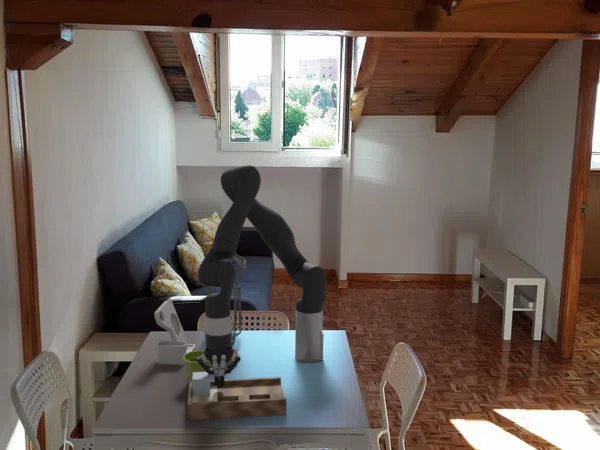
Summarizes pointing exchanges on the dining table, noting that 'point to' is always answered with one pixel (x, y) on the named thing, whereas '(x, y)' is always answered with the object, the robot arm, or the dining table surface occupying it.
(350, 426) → the dining table surface
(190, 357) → the plant pot
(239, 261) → the geometric lantern
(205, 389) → the block
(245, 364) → the dining table surface
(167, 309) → the phone holder
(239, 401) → the box
